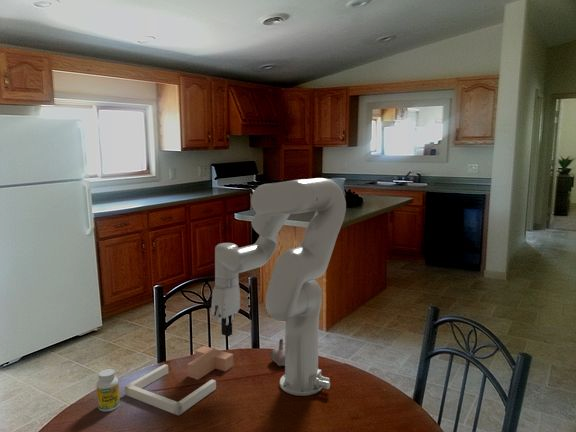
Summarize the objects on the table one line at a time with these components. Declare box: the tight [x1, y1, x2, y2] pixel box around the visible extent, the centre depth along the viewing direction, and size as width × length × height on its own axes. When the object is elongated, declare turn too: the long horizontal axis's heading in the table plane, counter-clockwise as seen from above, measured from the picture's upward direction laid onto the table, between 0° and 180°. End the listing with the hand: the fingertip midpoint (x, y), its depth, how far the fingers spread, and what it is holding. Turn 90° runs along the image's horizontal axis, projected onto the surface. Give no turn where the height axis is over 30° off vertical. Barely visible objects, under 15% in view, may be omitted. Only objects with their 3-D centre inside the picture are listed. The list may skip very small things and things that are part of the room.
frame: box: [124, 363, 217, 417], centre depth 124 cm, size 20×15×2 cm
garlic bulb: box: [270, 338, 285, 367], centre depth 141 cm, size 8×7×8 cm
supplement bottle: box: [96, 368, 121, 412], centre depth 117 cm, size 5×5×10 cm
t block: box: [186, 345, 234, 380], centre depth 137 cm, size 12×12×4 cm
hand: (226, 334), depth 147 cm, fingers closed
